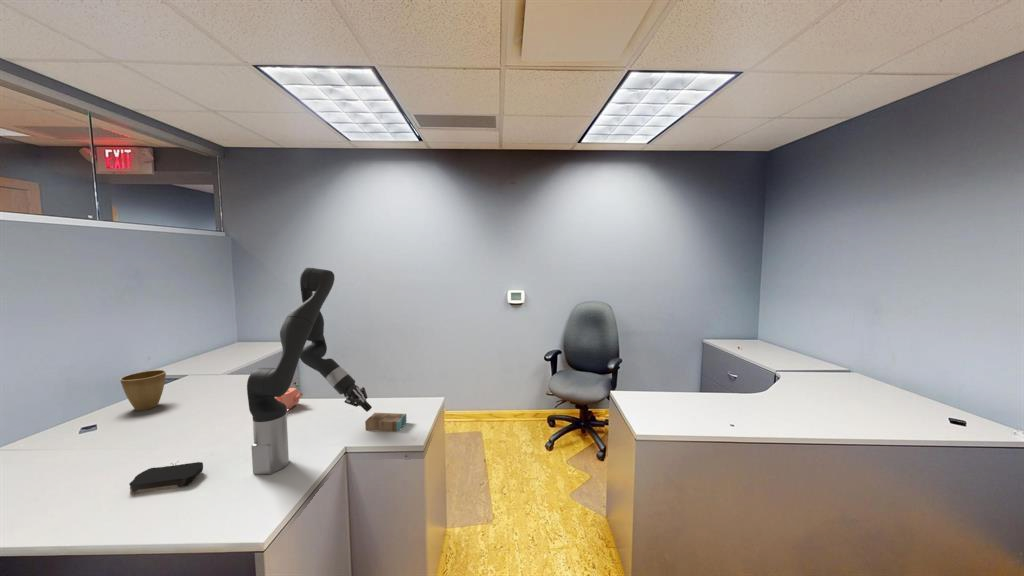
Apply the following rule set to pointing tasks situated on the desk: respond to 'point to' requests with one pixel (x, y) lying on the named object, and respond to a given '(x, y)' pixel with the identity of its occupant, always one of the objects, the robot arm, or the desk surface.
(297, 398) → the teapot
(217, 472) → the desk surface
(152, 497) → the desk surface
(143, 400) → the plant pot
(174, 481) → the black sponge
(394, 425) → the walnut block
